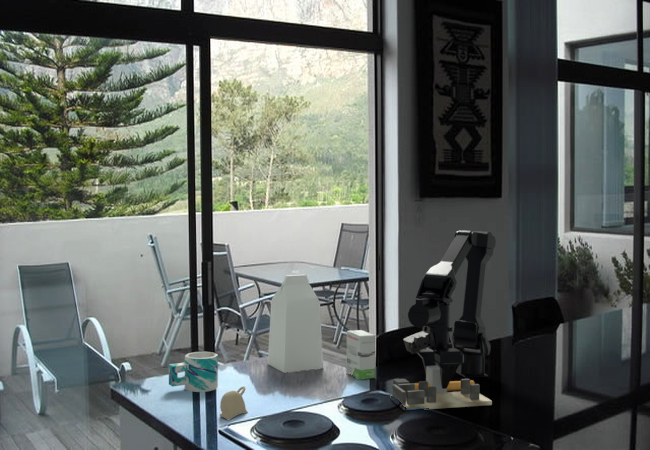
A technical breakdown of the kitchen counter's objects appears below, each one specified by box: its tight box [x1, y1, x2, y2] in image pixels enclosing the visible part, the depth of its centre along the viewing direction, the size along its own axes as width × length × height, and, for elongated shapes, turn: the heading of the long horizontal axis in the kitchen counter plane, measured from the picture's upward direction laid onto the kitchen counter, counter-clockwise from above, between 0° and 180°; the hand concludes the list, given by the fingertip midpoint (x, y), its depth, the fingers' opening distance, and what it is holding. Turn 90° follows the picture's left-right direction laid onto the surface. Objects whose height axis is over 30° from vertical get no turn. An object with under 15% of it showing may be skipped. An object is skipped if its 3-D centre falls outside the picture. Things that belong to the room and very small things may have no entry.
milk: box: [267, 274, 324, 374], centre depth 208 cm, size 12×12×26 cm
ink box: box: [345, 329, 376, 380], centre depth 199 cm, size 9×5×12 cm, turn 25°
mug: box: [168, 351, 219, 393], centre depth 184 cm, size 8×12×8 cm
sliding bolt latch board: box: [391, 378, 493, 410], centre depth 174 cm, size 22×9×4 cm, turn 105°
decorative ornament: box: [219, 386, 249, 421], centre depth 163 cm, size 4×8×5 cm, turn 145°
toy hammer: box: [392, 365, 476, 393], centre depth 184 cm, size 21×4×6 cm, turn 105°
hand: (436, 383), depth 184 cm, fingers open, 9 cm apart
